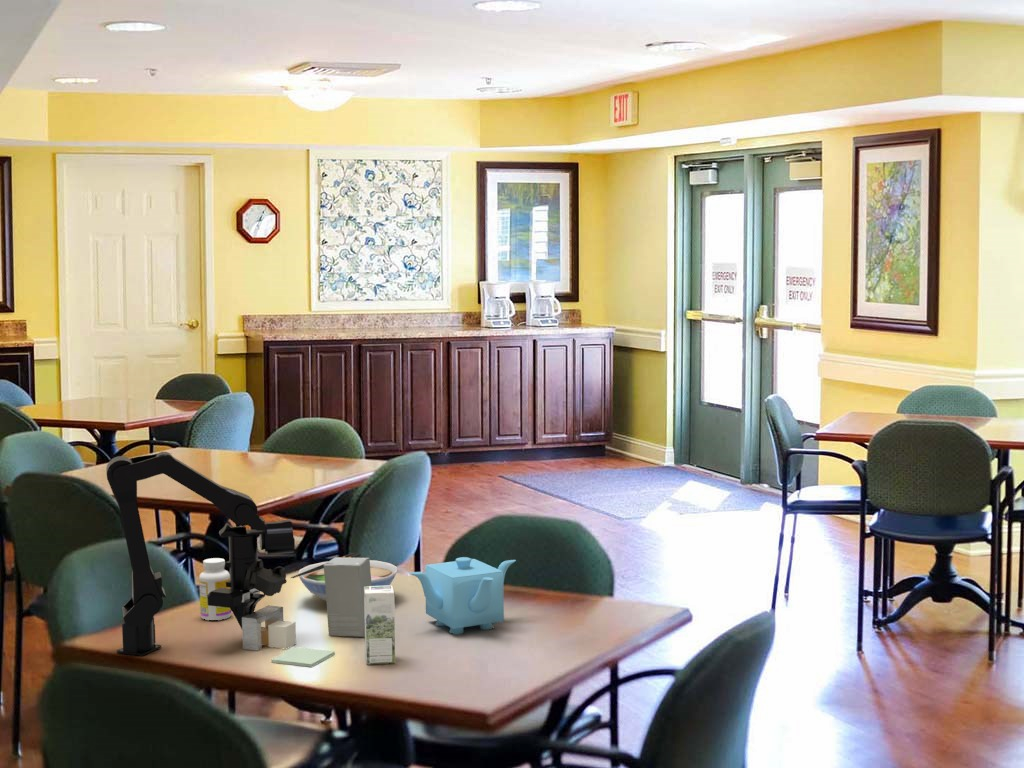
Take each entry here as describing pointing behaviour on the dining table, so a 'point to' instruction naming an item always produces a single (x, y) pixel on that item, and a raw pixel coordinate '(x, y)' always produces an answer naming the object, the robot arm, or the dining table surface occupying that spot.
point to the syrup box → (379, 624)
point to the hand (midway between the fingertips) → (245, 630)
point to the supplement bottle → (213, 588)
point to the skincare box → (346, 595)
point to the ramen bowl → (314, 573)
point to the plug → (279, 634)
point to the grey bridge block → (258, 625)
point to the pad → (303, 656)
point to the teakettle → (464, 593)
